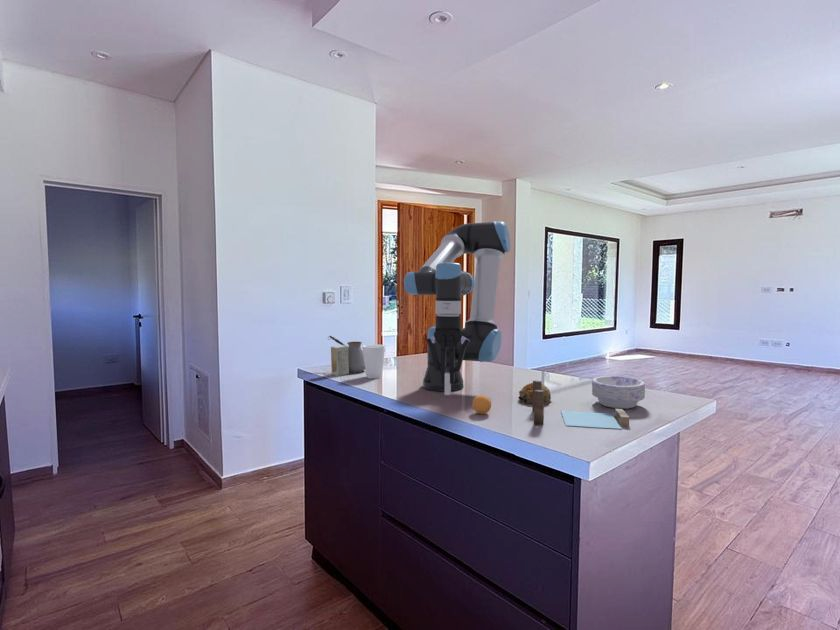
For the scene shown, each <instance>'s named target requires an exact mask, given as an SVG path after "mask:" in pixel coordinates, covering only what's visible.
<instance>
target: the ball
mask: <svg viewBox="0 0 840 630" xmlns="http://www.w3.org/2000/svg"><path fill="white" fill-rule="evenodd" d="M471 405H472V408H473V410H474V411H475V412H476V413H477V414H479V415H486V414H487V413H489V412H490V410H491V408H492V401H491V399H490V398H489V396H487V395H485V394H479V395H477V396H475V397H474V399H473V400H472V404H471Z"/></svg>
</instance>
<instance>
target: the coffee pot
mask: <svg viewBox="0 0 840 630" xmlns="http://www.w3.org/2000/svg"><path fill="white" fill-rule="evenodd" d="M329 338H330V339H329ZM327 340H330V341H331V340H333V341H334V342H336V343H337V344H339V345H340V346H341V345H344V346H348V363H349V374H350V373H351V374H352V373H353V374H354V373H357V372H358V373H362V371H363V372H364V371H366V370H365V363H364V356H363V352H362V347H361V346H362V344H363V342H362V341H348V342H347V345H346V344H344V343H343V342H341V341H340V340H339V339H337V338H335V337H334V336H332V335H329V336H328V337H327Z"/></svg>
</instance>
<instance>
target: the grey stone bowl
mask: <svg viewBox="0 0 840 630" xmlns="http://www.w3.org/2000/svg"><path fill="white" fill-rule="evenodd" d="M645 389H646V383H645V382H644V381H643V380H642V379H638V378H634V377H626V376H620V375H619V376H617V375H606V376H604V375H602V376H598V377H593V379H592V380H591V394H592V396H594V397H596V398H597V399H598V401H599V403H600V404H601V405H602V406H604V407H607V408H610V409H623V410H624V409H626V410H627V409H628V410H629V409H633V408H635V407H636V406H637V404H638V402H640V401H643V400H644V399H645V395H646V390H645Z"/></svg>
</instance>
